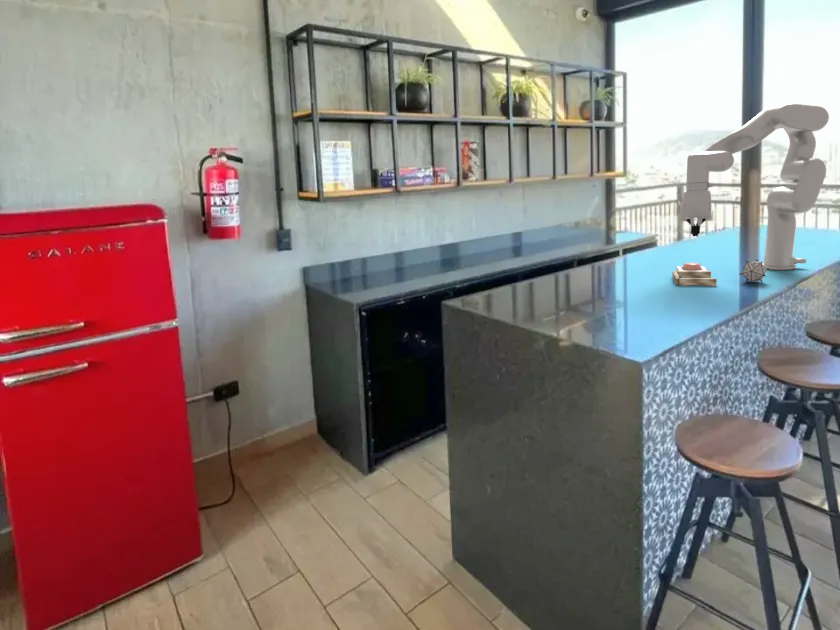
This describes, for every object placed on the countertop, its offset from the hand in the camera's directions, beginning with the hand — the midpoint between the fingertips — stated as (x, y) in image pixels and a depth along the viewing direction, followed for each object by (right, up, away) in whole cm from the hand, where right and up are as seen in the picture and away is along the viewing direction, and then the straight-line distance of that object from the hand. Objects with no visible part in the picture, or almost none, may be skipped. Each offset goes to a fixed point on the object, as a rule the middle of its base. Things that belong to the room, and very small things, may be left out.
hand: (695, 235), depth 223 cm
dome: (0, -14, +3) cm, 14 cm away
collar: (0, -15, +4) cm, 15 cm away
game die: (+14, -19, -14) cm, 27 cm away
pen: (-4, -18, -8) cm, 20 cm away
